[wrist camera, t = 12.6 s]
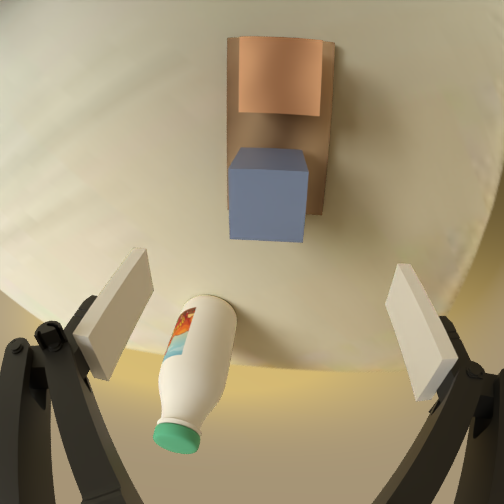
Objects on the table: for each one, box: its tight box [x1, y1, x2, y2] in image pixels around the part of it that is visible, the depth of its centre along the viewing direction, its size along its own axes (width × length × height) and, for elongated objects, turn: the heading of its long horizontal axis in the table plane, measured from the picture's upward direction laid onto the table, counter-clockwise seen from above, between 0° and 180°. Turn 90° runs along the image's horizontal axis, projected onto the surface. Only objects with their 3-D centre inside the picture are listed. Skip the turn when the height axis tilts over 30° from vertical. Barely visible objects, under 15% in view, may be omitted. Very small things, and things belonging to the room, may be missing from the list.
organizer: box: [227, 37, 335, 215], centre depth 26 cm, size 10×18×9 cm, turn 179°
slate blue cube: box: [228, 147, 309, 243], centre depth 27 cm, size 6×6×8 cm
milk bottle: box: [153, 295, 237, 454], centre depth 34 cm, size 8×8×20 cm
